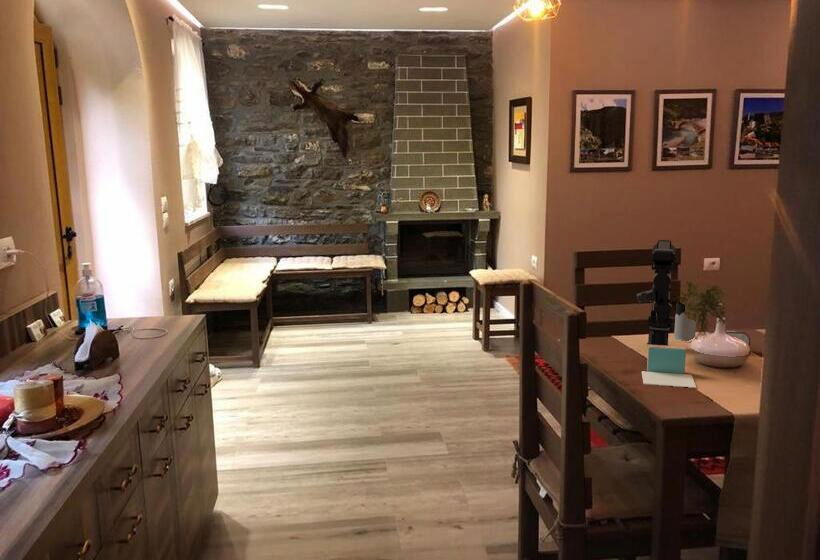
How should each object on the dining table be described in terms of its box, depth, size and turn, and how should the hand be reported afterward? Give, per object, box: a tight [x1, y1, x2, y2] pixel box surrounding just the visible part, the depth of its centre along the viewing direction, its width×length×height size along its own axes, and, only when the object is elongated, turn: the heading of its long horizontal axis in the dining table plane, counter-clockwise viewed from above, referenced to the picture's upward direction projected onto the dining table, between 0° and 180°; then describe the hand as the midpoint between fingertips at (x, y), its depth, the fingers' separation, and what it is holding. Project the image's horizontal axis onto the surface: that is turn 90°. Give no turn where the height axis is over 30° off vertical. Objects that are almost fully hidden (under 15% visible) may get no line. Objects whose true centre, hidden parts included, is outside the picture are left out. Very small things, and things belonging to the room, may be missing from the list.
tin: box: [711, 329, 752, 347], centre depth 252 cm, size 15×3×8 cm, turn 84°
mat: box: [641, 370, 697, 389], centre depth 221 cm, size 13×16×1 cm
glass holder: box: [672, 300, 697, 342], centre depth 272 cm, size 9×14×15 cm, turn 177°
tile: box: [646, 344, 687, 374], centre depth 229 cm, size 4×12×9 cm, turn 74°
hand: (659, 325), depth 244 cm, fingers closed
